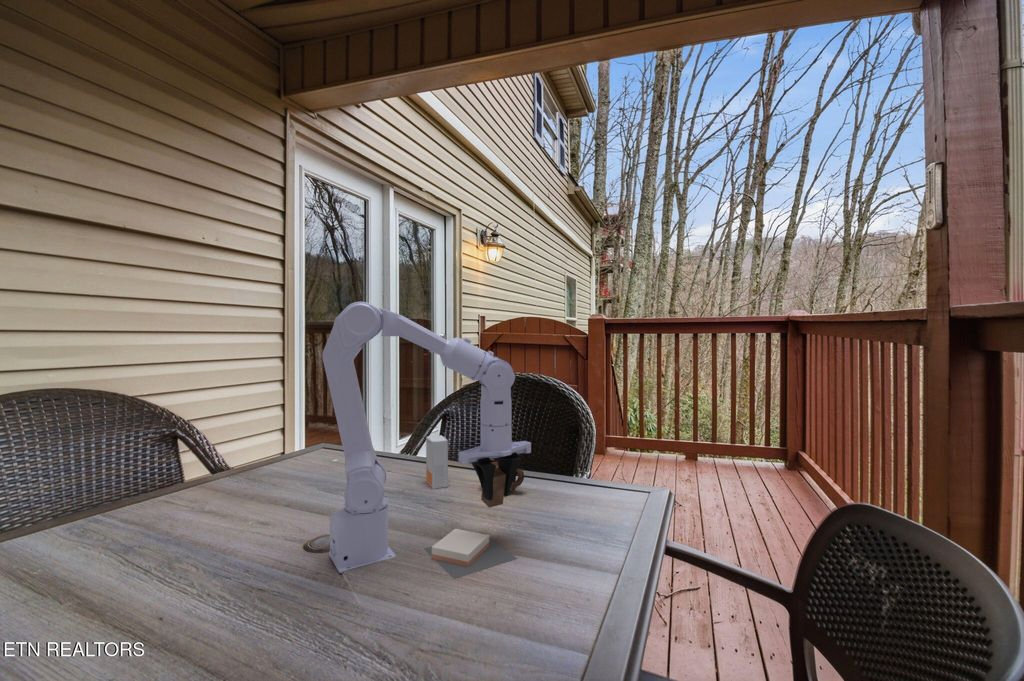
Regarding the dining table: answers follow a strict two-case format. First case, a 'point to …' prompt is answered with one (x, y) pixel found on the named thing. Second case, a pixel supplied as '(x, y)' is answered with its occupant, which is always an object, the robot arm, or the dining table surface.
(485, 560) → the mat
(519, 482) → the pottery mug
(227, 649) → the dining table surface
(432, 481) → the skincare box
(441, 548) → the whetstone
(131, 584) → the dining table surface
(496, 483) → the walnut block
